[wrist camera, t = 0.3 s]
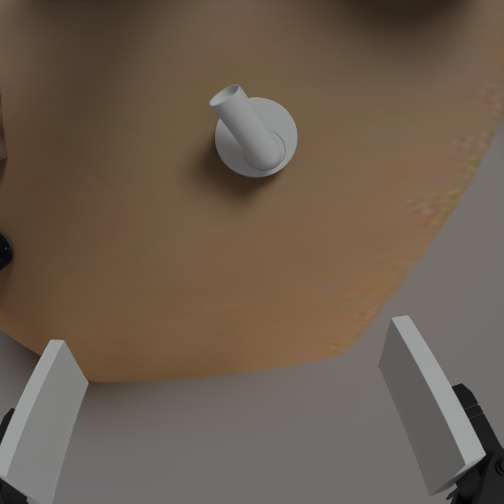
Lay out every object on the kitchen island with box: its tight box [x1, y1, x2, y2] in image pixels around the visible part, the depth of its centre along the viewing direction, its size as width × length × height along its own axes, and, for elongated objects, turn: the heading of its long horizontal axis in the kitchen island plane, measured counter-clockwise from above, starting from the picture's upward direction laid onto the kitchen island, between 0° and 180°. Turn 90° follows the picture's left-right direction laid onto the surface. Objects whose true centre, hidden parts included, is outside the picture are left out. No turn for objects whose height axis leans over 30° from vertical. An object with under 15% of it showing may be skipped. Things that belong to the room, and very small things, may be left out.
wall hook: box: [210, 85, 297, 177], centre depth 30 cm, size 9×10×10 cm
